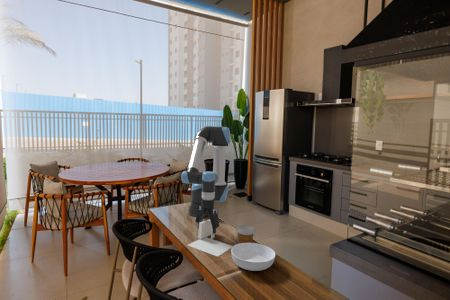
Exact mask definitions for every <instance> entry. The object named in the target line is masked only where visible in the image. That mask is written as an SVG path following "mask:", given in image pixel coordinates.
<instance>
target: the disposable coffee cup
mask: <svg viewBox="0 0 450 300" xmlns="http://www.w3.org/2000/svg"><path fill="white" fill-rule="evenodd" d="M255 231H256V230H255V228H254V226H252V225H249V224H241V225H238V226H237V228H236V232H237V242H238V243H237V244H240V243H253V239H254V233H255Z"/></svg>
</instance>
